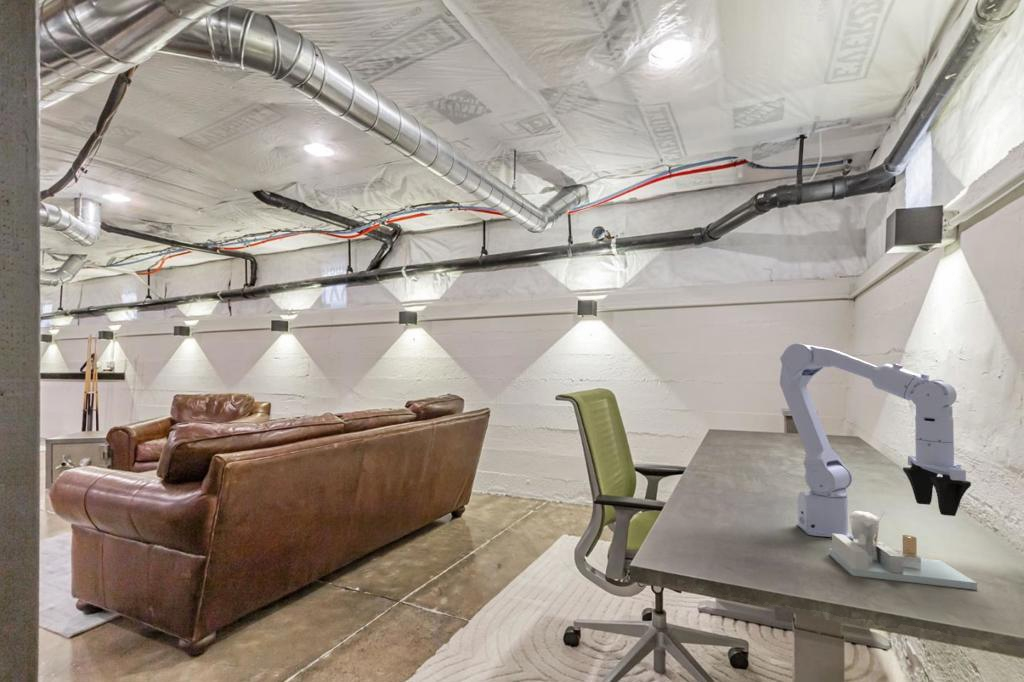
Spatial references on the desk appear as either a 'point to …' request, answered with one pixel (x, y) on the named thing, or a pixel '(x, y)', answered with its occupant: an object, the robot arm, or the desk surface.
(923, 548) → the desk surface
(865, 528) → the milkshake
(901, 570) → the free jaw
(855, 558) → the pale blue stepped plate
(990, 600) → the desk surface
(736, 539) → the desk surface
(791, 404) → the robot arm
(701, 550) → the desk surface
